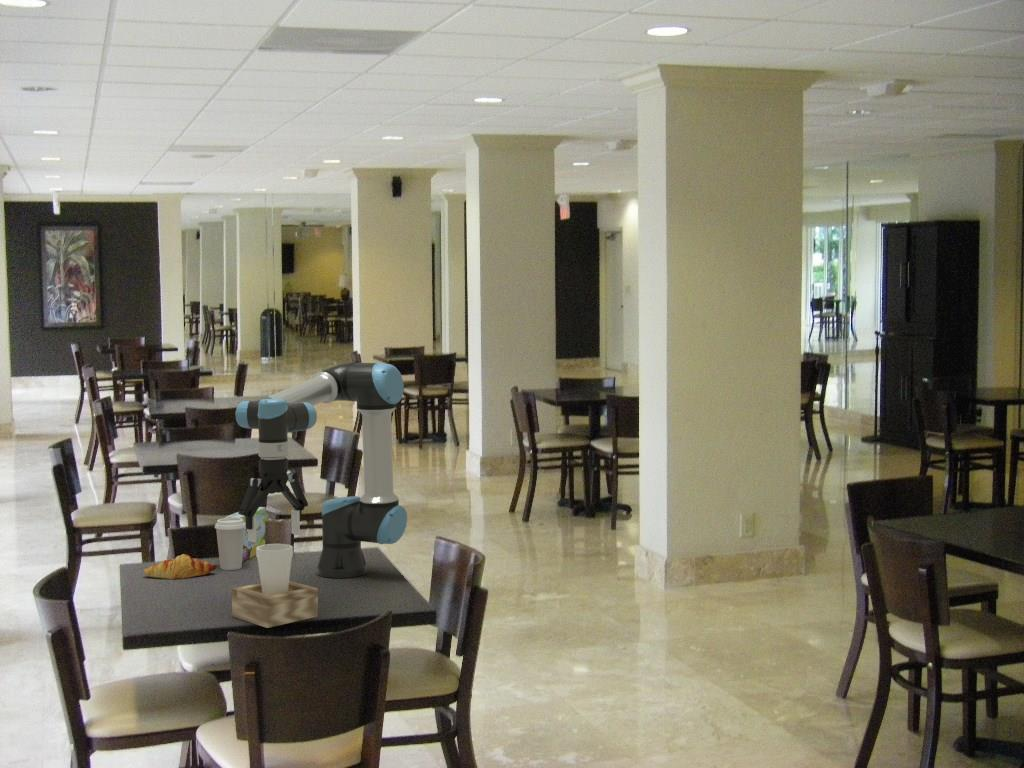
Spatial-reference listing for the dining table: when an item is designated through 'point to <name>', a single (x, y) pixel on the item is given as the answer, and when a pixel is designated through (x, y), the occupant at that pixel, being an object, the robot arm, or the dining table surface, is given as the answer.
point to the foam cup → (274, 567)
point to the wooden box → (274, 604)
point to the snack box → (249, 546)
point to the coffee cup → (230, 542)
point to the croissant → (180, 568)
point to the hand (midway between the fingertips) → (274, 537)
